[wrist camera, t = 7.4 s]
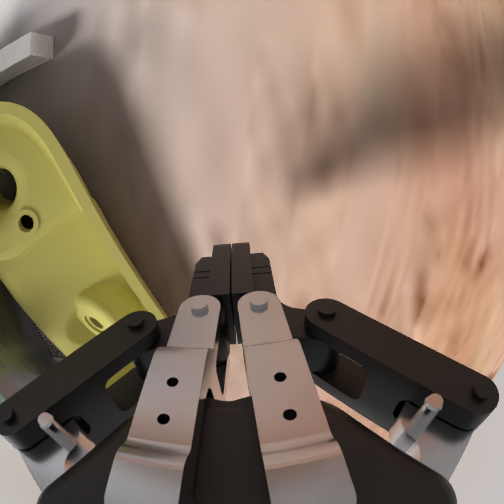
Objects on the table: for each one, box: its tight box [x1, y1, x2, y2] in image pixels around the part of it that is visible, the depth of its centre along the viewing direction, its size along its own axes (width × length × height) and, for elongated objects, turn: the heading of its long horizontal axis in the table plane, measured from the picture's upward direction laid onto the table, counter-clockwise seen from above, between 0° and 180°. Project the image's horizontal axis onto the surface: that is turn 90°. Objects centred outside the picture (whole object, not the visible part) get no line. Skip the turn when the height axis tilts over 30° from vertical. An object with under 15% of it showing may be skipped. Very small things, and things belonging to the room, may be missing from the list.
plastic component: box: [0, 101, 168, 388], centre depth 15 cm, size 20×7×10 cm
